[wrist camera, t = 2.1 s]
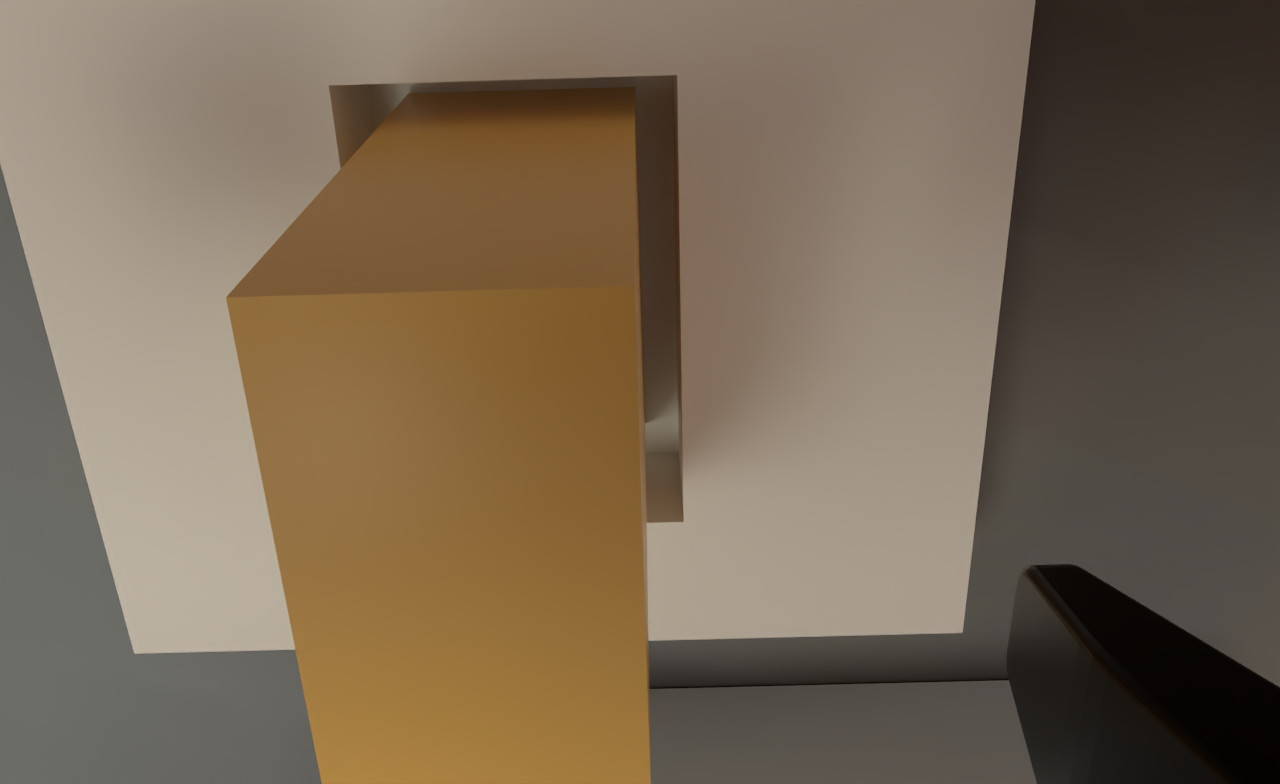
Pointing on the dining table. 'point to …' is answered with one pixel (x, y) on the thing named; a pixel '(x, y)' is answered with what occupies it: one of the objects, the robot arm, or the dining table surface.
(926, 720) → the parts tray
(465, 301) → the orange rectangular block
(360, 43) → the fuse block
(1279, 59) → the dining table surface
